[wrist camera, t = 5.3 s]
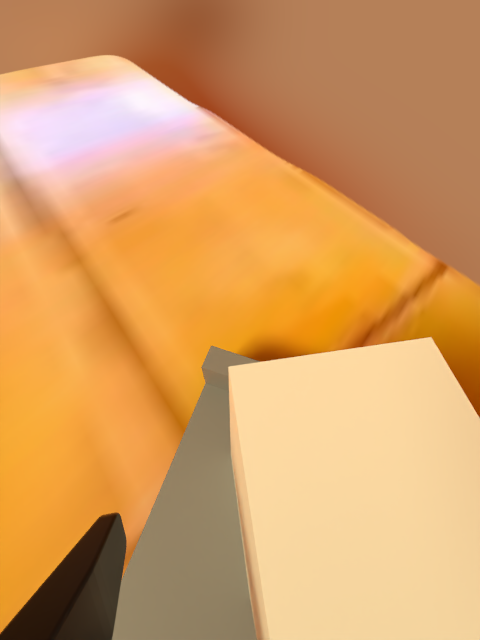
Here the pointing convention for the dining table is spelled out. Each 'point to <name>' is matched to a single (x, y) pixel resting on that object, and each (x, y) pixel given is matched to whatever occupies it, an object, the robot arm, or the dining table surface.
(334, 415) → the cream rectangular block
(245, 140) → the dining table surface
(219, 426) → the offcut rack
